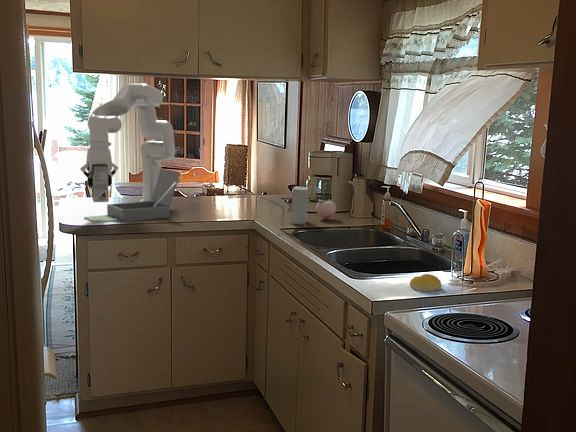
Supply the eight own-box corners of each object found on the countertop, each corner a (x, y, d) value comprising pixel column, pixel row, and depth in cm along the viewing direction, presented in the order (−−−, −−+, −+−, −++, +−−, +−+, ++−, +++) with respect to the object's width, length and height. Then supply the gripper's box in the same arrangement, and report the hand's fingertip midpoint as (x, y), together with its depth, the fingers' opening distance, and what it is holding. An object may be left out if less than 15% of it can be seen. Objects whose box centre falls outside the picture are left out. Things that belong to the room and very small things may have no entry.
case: (107, 215, 288) (106, 170, 285) (162, 210, 305) (162, 168, 301) (124, 222, 273) (123, 175, 270) (181, 216, 290) (181, 172, 286)
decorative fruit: (324, 221, 287) (324, 199, 285) (312, 218, 294) (313, 197, 292) (339, 220, 292) (340, 198, 291) (328, 217, 299) (329, 196, 297)
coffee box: (91, 199, 279) (90, 162, 276) (107, 199, 281) (106, 162, 278) (93, 202, 271) (92, 164, 268) (109, 202, 273) (108, 164, 270)
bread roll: (404, 287, 187) (405, 274, 186) (424, 283, 192) (425, 270, 191) (426, 294, 180) (427, 281, 179) (446, 289, 186) (447, 276, 185)
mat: (84, 218, 280) (84, 216, 279) (106, 216, 286) (106, 215, 285) (95, 223, 269) (95, 221, 269) (117, 221, 275) (117, 219, 275)
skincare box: (292, 220, 288) (293, 185, 285) (308, 221, 287) (309, 186, 284) (289, 223, 280) (290, 188, 277) (305, 224, 279) (306, 189, 276)
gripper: (115, 144, 280) (115, 184, 283) (75, 145, 270) (77, 186, 273) (121, 145, 274) (122, 186, 277) (82, 146, 264) (83, 188, 267)
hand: (100, 186), depth 275 cm, fingers closed on coffee box, 7 cm apart
